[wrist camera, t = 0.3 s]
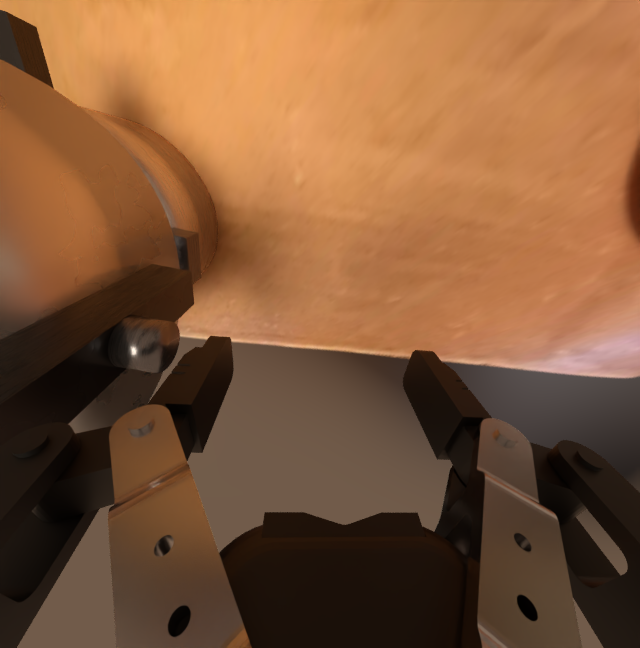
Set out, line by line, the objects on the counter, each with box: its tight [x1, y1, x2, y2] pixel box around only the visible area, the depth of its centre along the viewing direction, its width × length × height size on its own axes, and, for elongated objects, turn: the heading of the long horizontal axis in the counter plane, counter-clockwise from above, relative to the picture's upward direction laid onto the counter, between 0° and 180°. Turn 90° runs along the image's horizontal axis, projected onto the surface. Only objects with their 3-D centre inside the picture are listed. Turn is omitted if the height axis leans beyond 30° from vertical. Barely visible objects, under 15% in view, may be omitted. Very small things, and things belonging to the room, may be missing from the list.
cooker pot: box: [0, 10, 218, 284], centre depth 23 cm, size 22×19×12 cm
